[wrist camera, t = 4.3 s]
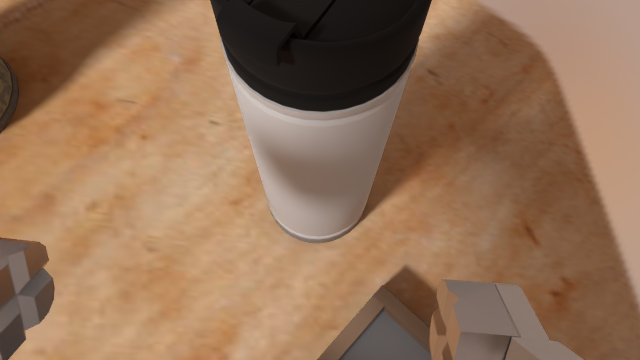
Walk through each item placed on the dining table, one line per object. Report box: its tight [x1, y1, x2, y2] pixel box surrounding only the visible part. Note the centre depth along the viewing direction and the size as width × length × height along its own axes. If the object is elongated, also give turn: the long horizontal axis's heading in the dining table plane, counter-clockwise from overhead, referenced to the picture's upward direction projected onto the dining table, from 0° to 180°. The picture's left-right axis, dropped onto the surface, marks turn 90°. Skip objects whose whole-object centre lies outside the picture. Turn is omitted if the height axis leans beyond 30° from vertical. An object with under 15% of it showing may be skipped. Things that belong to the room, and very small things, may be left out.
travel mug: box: [210, 0, 432, 243], centre depth 21 cm, size 6×7×20 cm
